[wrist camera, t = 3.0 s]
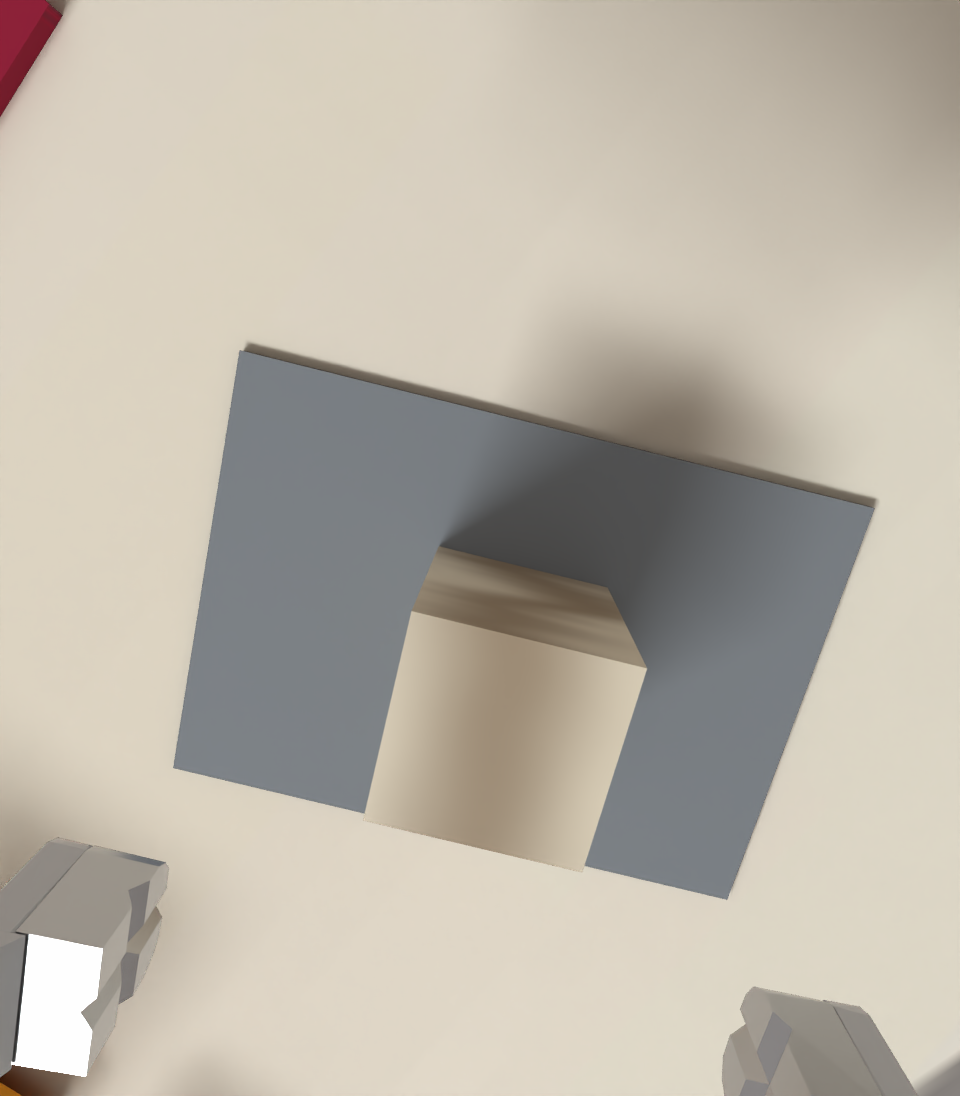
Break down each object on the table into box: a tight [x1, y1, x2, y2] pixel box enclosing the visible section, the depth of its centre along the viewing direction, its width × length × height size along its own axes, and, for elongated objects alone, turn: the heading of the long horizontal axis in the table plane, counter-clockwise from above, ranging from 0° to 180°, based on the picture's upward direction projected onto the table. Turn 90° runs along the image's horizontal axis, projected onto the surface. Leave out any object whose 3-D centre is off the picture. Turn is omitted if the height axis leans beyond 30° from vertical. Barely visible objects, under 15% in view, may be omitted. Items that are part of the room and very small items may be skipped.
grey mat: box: [173, 350, 874, 900], centre depth 21 cm, size 18×13×1 cm
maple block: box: [363, 546, 647, 872], centre depth 18 cm, size 5×5×6 cm
